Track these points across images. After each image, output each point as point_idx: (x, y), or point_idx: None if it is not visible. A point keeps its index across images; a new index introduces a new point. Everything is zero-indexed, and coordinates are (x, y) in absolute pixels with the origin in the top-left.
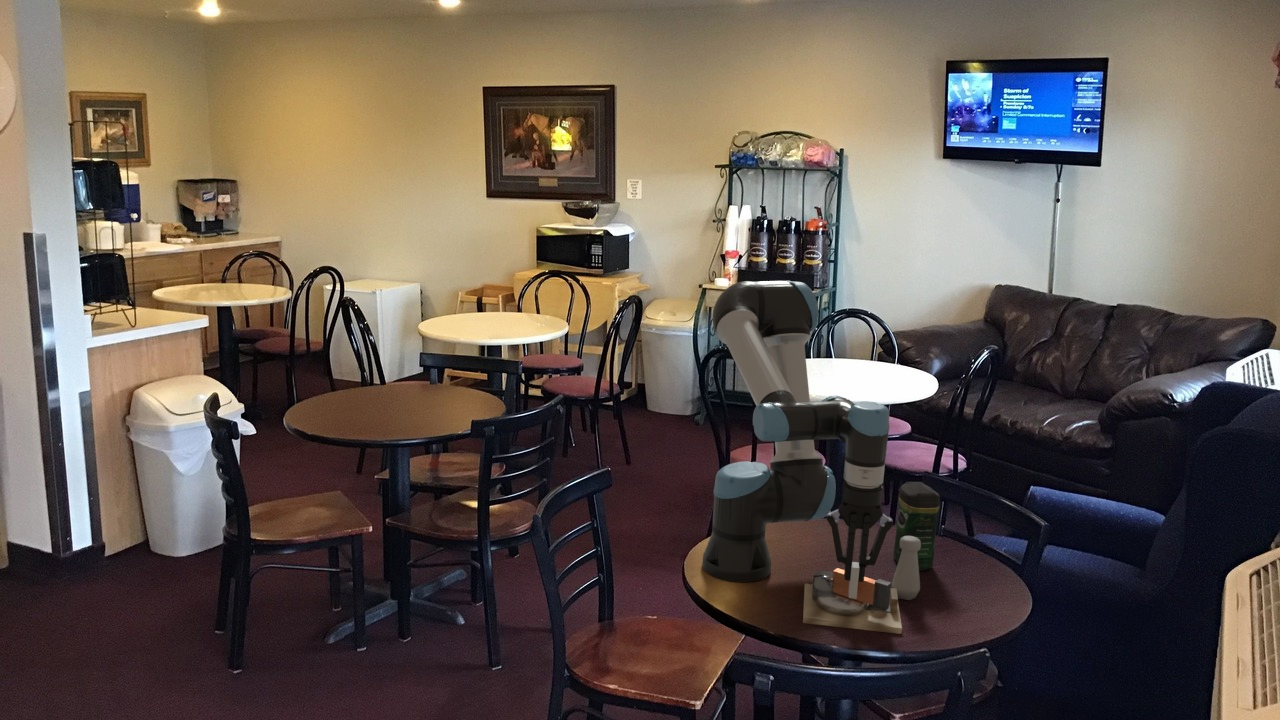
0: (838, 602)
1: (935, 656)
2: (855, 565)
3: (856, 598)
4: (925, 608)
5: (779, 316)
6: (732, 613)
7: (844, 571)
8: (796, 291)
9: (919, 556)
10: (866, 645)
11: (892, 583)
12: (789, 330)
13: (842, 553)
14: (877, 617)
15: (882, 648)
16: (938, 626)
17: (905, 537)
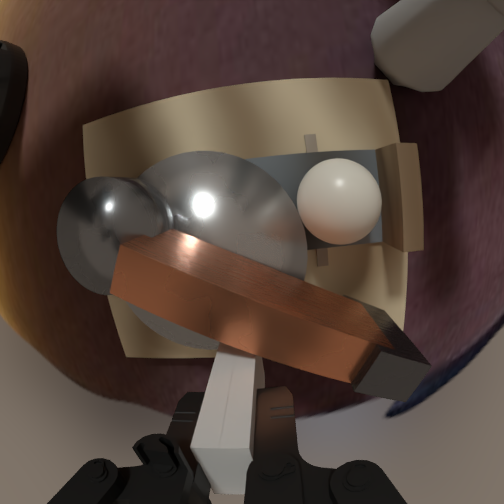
0: (198, 334)
1: (440, 387)
2: (232, 479)
3: (264, 376)
4: (457, 136)
5: None
6: (19, 332)
7: (174, 419)
8: None
9: None
10: (302, 407)
11: (377, 48)
12: None
13: (114, 498)
14: (339, 292)
15: (339, 406)
16: (479, 242)
17: None
